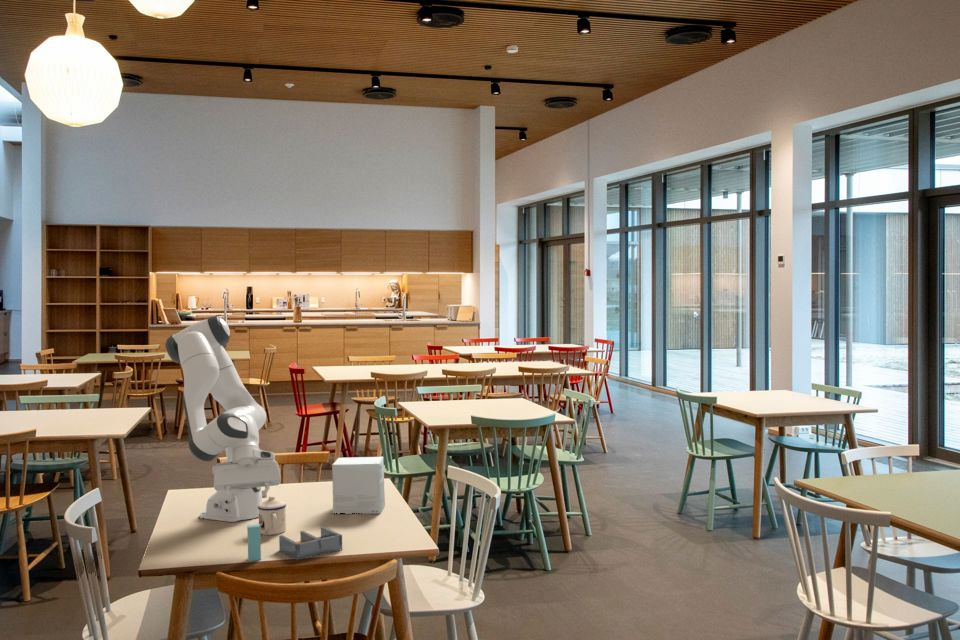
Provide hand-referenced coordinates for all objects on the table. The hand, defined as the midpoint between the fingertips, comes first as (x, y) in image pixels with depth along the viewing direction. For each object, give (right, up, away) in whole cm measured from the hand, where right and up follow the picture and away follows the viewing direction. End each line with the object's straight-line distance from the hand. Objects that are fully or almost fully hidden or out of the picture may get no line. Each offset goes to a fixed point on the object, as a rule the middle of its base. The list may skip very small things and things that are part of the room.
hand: (248, 498), depth 251 cm
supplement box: (+28, -14, +45) cm, 54 cm away
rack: (+20, -15, -2) cm, 25 cm away
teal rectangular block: (+4, -16, -10) cm, 19 cm away
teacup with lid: (+3, -15, +17) cm, 23 cm away
